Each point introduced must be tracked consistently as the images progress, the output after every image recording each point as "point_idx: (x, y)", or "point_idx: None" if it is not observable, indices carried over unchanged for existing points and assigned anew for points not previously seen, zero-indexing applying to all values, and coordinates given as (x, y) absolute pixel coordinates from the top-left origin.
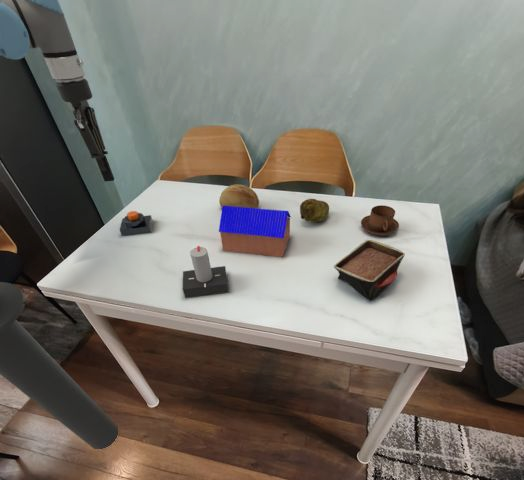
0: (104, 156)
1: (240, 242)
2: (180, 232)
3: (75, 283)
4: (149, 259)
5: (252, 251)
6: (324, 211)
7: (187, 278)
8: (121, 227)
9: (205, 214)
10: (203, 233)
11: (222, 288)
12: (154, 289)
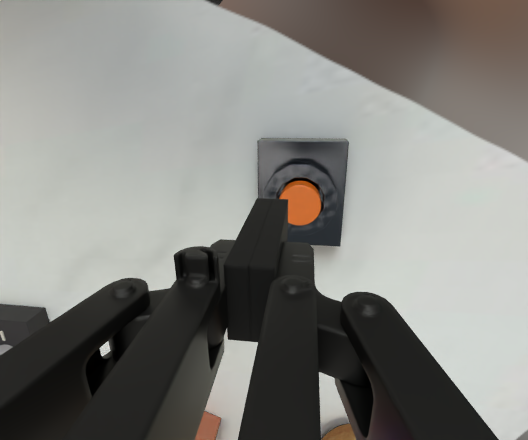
0: (242, 337)
1: None
2: None
3: (10, 24)
4: (121, 232)
5: None
6: None
7: (3, 328)
8: (273, 146)
9: (330, 379)
10: (227, 361)
11: None
12: (9, 246)
